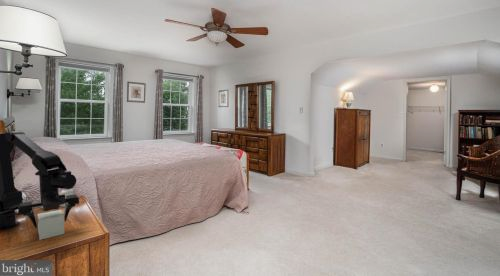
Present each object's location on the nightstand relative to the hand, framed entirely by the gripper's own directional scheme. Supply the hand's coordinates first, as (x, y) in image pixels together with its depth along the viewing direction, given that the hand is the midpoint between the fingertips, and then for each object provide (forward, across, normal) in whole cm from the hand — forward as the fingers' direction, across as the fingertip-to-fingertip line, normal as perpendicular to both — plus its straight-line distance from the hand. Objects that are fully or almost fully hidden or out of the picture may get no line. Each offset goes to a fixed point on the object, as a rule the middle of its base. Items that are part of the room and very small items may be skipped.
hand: (51, 224), depth 100 cm
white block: (+4, 0, 0) cm, 4 cm away
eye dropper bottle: (+4, +9, +33) cm, 34 cm away
